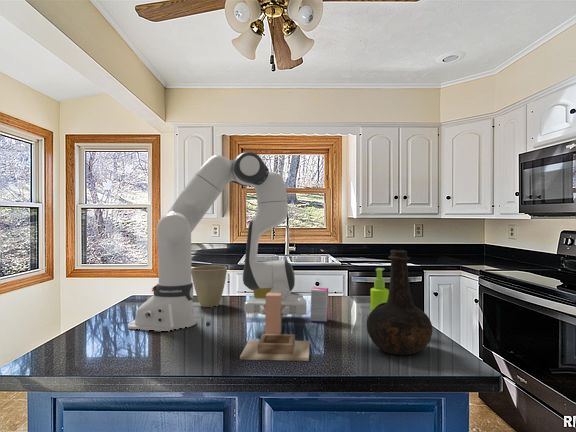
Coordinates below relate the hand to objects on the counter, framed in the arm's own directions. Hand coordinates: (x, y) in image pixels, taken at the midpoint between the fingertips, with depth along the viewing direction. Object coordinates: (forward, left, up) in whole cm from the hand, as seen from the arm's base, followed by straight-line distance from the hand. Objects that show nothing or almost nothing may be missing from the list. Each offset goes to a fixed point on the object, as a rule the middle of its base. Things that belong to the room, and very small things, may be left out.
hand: (273, 312), depth 123 cm
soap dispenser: (+34, +12, -8) cm, 37 cm away
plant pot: (-32, +42, -8) cm, 53 cm away
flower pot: (-8, +43, -8) cm, 44 cm away
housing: (+2, -12, -8) cm, 15 cm away
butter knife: (-11, +23, -8) cm, 27 cm away
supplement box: (+14, +21, -8) cm, 27 cm away
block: (0, +1, -7) cm, 7 cm away
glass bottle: (+36, -9, -8) cm, 38 cm away
